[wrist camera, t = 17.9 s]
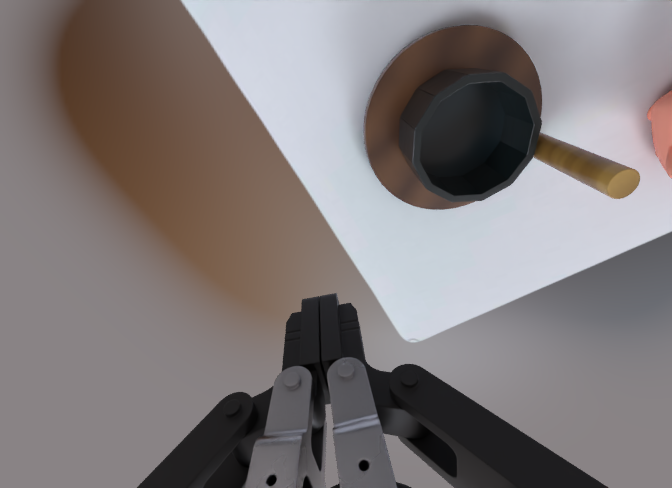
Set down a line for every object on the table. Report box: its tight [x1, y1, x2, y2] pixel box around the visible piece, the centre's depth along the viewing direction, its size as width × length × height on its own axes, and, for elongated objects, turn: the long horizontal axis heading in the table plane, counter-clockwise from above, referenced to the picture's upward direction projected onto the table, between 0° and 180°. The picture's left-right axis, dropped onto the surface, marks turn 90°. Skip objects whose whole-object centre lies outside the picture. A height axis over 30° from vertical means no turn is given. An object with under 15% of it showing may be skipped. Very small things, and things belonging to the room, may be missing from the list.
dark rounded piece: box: [363, 25, 640, 209], centre depth 30 cm, size 18×18×15 cm
